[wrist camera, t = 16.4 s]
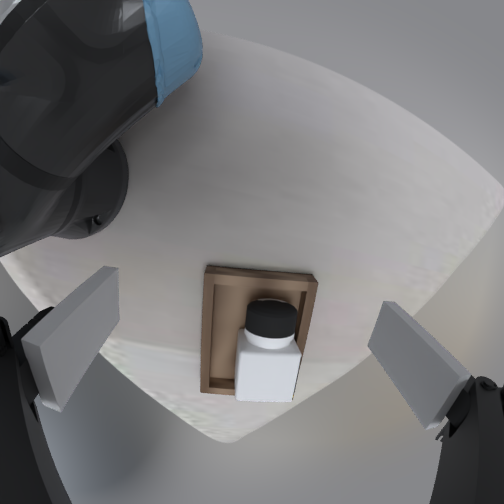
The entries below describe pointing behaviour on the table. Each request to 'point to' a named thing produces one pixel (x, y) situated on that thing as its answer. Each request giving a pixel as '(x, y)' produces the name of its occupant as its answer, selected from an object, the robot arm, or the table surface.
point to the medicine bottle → (267, 353)
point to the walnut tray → (244, 316)
